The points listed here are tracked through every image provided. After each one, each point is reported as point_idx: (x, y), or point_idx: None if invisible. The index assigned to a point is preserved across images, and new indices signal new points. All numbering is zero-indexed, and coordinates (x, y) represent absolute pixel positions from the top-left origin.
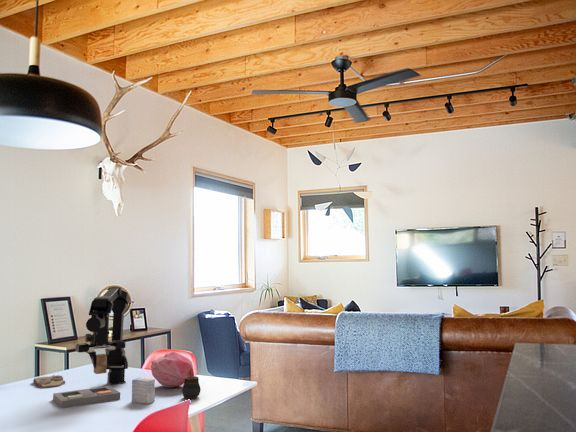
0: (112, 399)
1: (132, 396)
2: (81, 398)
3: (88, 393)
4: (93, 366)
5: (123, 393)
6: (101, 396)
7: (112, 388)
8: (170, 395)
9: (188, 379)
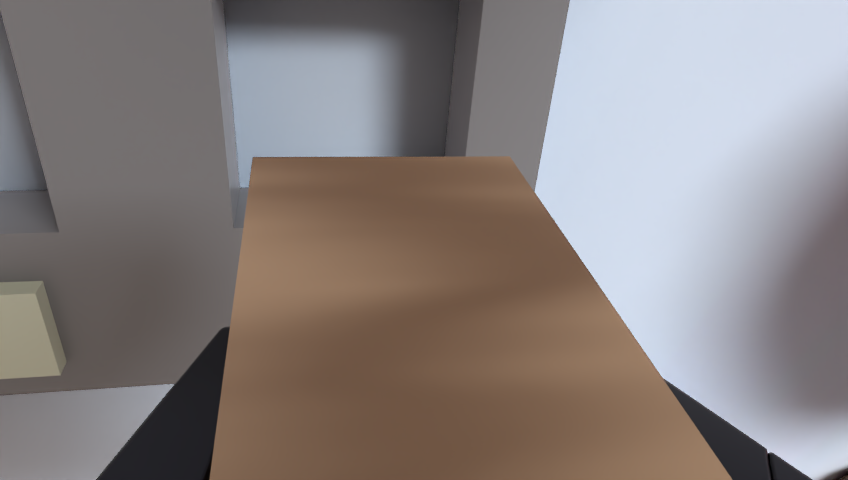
0: None
1: None
2: (43, 390)
3: (159, 222)
4: (205, 355)
5: (634, 116)
6: None
7: (533, 131)
8: (834, 393)
9: None
